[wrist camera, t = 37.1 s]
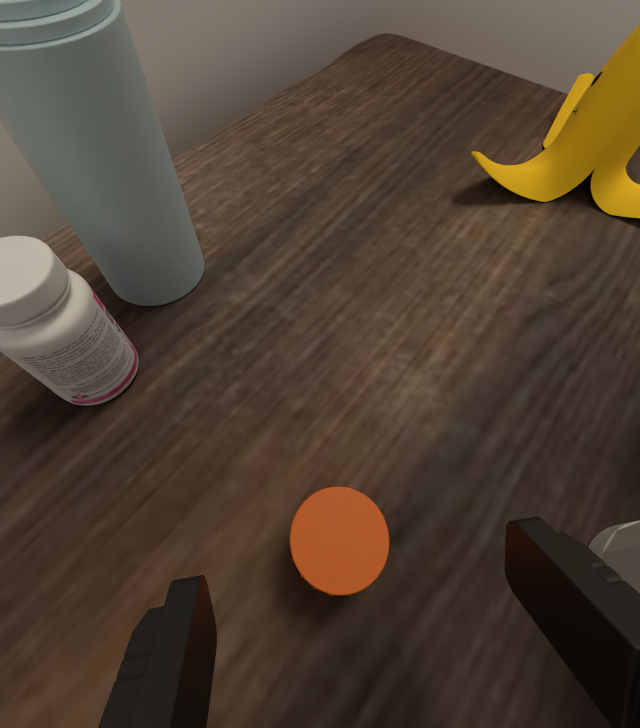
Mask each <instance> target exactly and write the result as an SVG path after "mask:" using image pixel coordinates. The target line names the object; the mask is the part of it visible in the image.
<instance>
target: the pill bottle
mask: <svg viewBox="0 0 640 728" xmlns="http://www.w3.org/2000/svg"><path fill="white" fill-rule="evenodd" d="M0 352H2V353H3V354H4V355H6V356H7V357H8V358H10V359H11V360H12V361H14V362H15V363H16V364H18V365H19V366H20V367H22V368H23V369H24V370H26V371H27V372H28V373H30V374H31V375H32V376H34V377H35V378H36V379H38V380H39V381H40V382H42V383H43V384H44V385H46V386H47V387H48V388H49V389H51V390H52V391H53V392H54V393H56V394H57V395H58V396H60V397H61V398H63V399H64V400H66V401H68V402H70V403H73V404H77V405H96V404H100V403H103V402H106V401H109V400H111V399H112V398H114V397H116V396H117V395H119V394H120V393H121V392H122V391H124V390H125V389H126V388H127V386H128V385H129V384H130V383H131V382H132V380H133V379H134V377H135V375H136V373H137V370H138V364H139V360H138V354H137V351H136V349H135V347H134V346H133V344H132V343H131V341H130V340H129V339H128V337H127V336H126V335H125V334H124V332H123V331H122V330H121V328H120V327H119V325H118V324H117V323H116V321H115V320H114V319H113V317H112V316H111V315H110V313H109V312H108V310H107V309H106V308H105V306H104V305H103V303H102V302H101V301H100V299H99V298H98V297H97V295H96V294H95V292H94V291H93V290H92V288H91V287H90V286H89V284H88V283H87V282H86V281H85V280H84V279H83V278H82V277H81V276H80V275H78V274H77V273H75V272H73V271H71V270H69V269H66V267H65V265H64V264H63V263H62V262H61V260H60V259H59V258H58V257H57V256H56V255H55V253H54V252H53V251H52V250H51V249H50V248H49V246H47V245H46V244H45V243H44V242H42V241H40V240H38V239H35V238H32V237H27V236H10V237H3V238H0Z"/></svg>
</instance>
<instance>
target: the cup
mask: <svg viewBox="0 0 640 728" xmlns="http://www.w3.org/2000/svg"><path fill="white" fill-rule="evenodd" d="M588 548H590V549H591V550H592V551H593V552H594V553H595V554H596V555H597V556H598V557H600V558H601V559H602V560H603V561H604V562H605V564H606V566H610V567H611V568H612V569H613V570H614V571H615V572H616V573H617V574H618V575H620V576H621V579H622V580H623V581H626V582H627V583H628V584H630V585H631V586H632V587H633V588H634V589H635V590H636V591H637V592H638V593H640V521H635V522H630V523H625V524H619V525H615V526H611V527H609V528H606V529H605V530H603V531H601V532H600V533H599V534H598V535H597V536H596V537H595V538H594V539H593V540H592V541H591V543H590V545H589V546H588Z"/></svg>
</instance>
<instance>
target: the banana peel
mask: <svg viewBox="0 0 640 728" xmlns="http://www.w3.org/2000/svg"><path fill="white" fill-rule="evenodd" d="M639 145H640V25H639V26H638V27H637V28H636V29H635V30H634V31H633V32H632V33H631V34H630V35H629V37H628V38H627V39H626V40H625V42H623V44H622V45H621V46H620V47H619V48H618V49H617V50H616V52H615V53H614V54H613V55H612V57H611V58H610V59H609V60H608V62H607V63H606V64H605V65H604V67H603V68H602V69H601V70H600V72H599V73H598V75H597V76H596V77H594V76H593V75H591V74H588V73H587V74H582V75H579V76H578V78H577V80H576V82H575V84H574V86H573V87H572V89H571V91H570V93H569V95H568V96H567V98H566V100H565V102H564V104H563V106H562V107H561V109H560V111H559V113H558V115H557V117H556V119H555V121H554V123H553V125H552V127H551V129H550V130H549V132H548V134H547V136H546V138H545V140H544V142H543V146H544V148H545V150H544V151H542V152H541V153H540V154H539V155H537V156H536V157H534V158H533V159H531V160H529V161H527V162H525V163H523V164H519V165H510V166H509V165H500V164H497V163H494V162H492V161H491V160H489V159H487V158H486V157H485V156H484V155H482V154H481V153H479V152H471V154H472V155H473V157H474V158H475V159H476V161H477V162H478V163H479V164H480V166H481V167H482V168H483V169H484V170H485V171H486V173H487V174H489V175H490V176H491V177H492V178H493V179H494V180H495V181H496V182H498V183H499V184H500V185H502V186H503V187H505V188H507V189H508V190H510V191H512V192H514V193H516V194H518V195H520V196H523V197H526V198H529V199H533V200H537V201H541V202H547V201H551V200H553V199H556V198H558V197H560V196H562V195H564V194H566V193H567V192H569V191H571V190H572V189H573V188H575V187H576V186H577V185H579V184H580V183H581V182H582V181H583V180H584V179H585V178H586V177H587V176H588V175H589V174H590V173H591V172H592V171H593V170H594V171H593V174H592V178H591V193H592V196H593V199H594V200H595V202H596V204H597V205H598V206H599V207H600V208H601V209H602V210H603V211H605V212H606V213H608V214H610V215H616V216H623V217H631V218H640V185H639V184H636V183H634V182H633V181H632V180H631V179H630V178H629V177H628V175H627V173H626V165H627V163H628V161H629V159H630V158H631V157H632V155H633V154H634V152H635V151H636V150H637V148H638V147H639ZM594 168H595V169H594Z"/></svg>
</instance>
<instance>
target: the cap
mask: <svg viewBox="0 0 640 728" xmlns="http://www.w3.org/2000/svg"><path fill="white" fill-rule="evenodd" d="M289 542H290V548H291V553H292V557H293V558H292V561H293V562H294V563H295V565H296V567H297V569H298V570H299V572H300V573H301V575H300V576H301V577H302V578H303V577H304V579H305V580H306V581H307V582H308V583H309V584H311V585H312V586H313V589H315V590H316V588H317V589H318V590H320V591H322V592H325V593H328V595H330V596H333V595H348V596H351V594H354V593H357V592H359V591H361V590H363V589H365V588H367V587H368V586H369V585H370V584H372V583H373V582H374V581H375V580H376V578H377V577H378V576H379V574H380V573H381V571H382V570H383V568H384V566H385V563H386V560H387V557H388V552H389V533H388V528H387V525H386V522H385V519H384V517H383V515H382V513H381V511H380V510H379V508H378V507H377V506H376V504H375V503H374V502H373V501H372V500H371V499H370V498H368V497H367V496H366V495H364V494H363V493H361V492H359V491H357V490H354V489H351V488H347V487H329V488H325V489H322V490H320V491H318V492H316V493H314V494H313V495H311V496H310V497H309V498H307V499H306V500H305V501H304V502H303V504H302V505H301V506H300V508H299V509H298V511H297V512H296V515H295V517H294V519H293V521H292V526H291V531H290V539H289Z"/></svg>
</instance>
